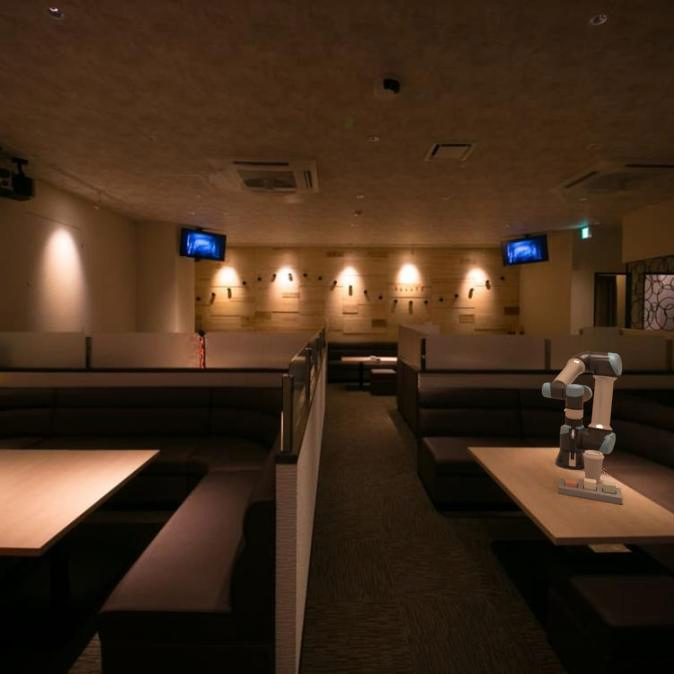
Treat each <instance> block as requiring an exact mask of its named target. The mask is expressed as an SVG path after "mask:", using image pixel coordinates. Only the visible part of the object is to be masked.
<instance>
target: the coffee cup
mask: <svg viewBox="0 0 674 674" xmlns="http://www.w3.org/2000/svg"><path fill="white" fill-rule="evenodd" d="M583 456H584V467H585V469H584V478H588V479H595V480H596V484H598V485H599V484H600V483H601V475H602V474H601V473H602V467H603V463H604V462H603V461H604V459H605V456H604V454H603V453H601V452H599V451H594V450H584V451H583Z"/></svg>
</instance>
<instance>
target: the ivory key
mask: <svg viewBox="0 0 674 674" xmlns="http://www.w3.org/2000/svg"><path fill="white" fill-rule="evenodd" d="M583 482H584V489H590V490H596V480H595V479H588V478H585V477H584V479H583Z"/></svg>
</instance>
